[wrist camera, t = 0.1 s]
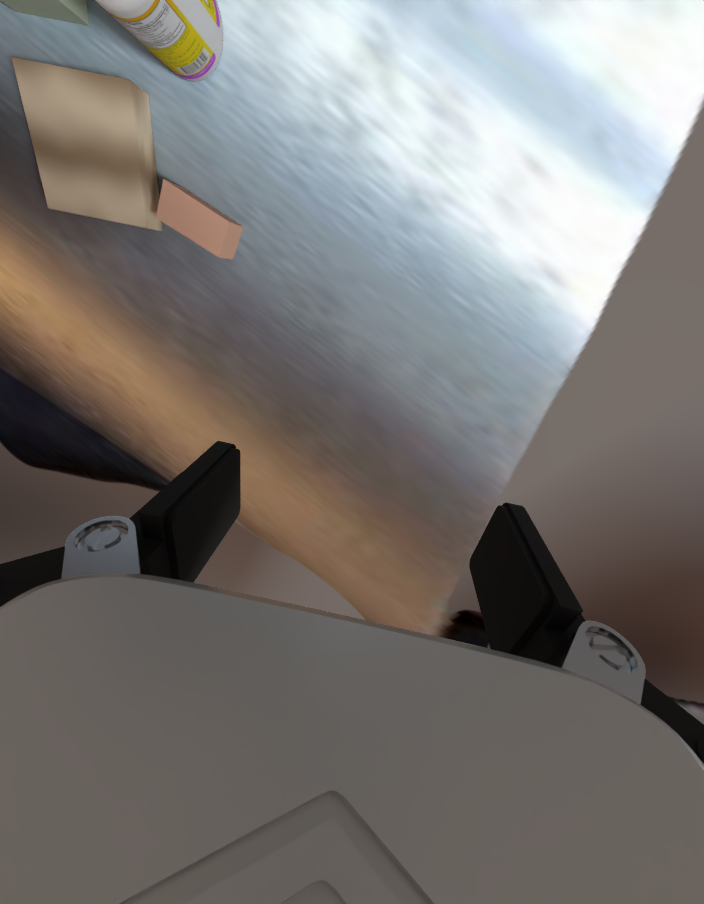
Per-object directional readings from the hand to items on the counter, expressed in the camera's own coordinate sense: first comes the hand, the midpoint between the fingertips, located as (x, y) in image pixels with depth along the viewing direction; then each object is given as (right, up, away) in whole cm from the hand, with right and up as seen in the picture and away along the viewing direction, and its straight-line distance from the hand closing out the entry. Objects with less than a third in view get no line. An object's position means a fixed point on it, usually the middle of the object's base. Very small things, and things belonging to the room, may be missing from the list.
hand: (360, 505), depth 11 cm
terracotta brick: (-16, +27, +24) cm, 39 cm away
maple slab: (-26, +33, +22) cm, 47 cm away
